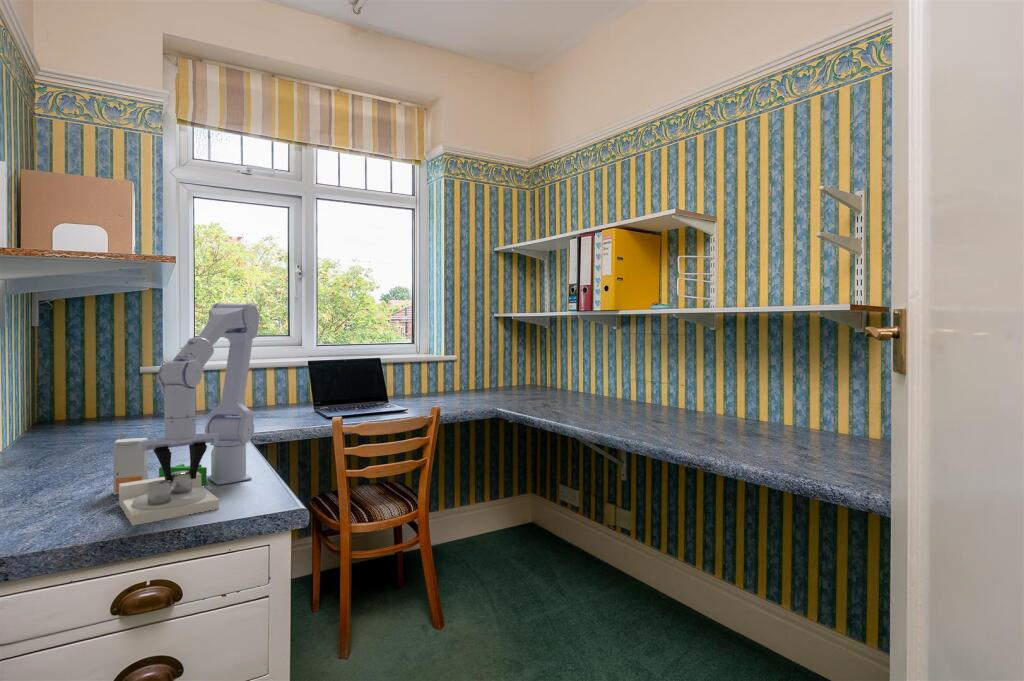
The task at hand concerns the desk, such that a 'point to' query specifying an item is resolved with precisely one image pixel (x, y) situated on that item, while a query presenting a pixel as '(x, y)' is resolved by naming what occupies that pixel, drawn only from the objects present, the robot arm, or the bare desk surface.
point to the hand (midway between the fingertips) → (180, 479)
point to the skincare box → (129, 462)
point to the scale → (180, 505)
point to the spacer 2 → (181, 482)
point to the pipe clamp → (187, 468)
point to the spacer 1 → (159, 492)
